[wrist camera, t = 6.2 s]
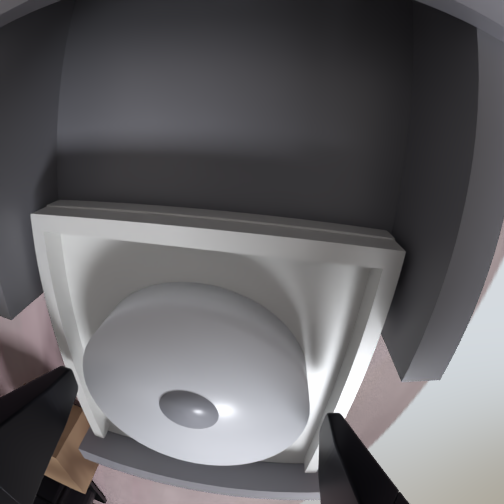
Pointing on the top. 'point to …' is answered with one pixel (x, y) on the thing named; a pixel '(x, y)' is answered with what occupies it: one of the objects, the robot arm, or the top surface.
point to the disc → (199, 374)
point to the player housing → (268, 131)
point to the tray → (231, 278)
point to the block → (72, 455)
